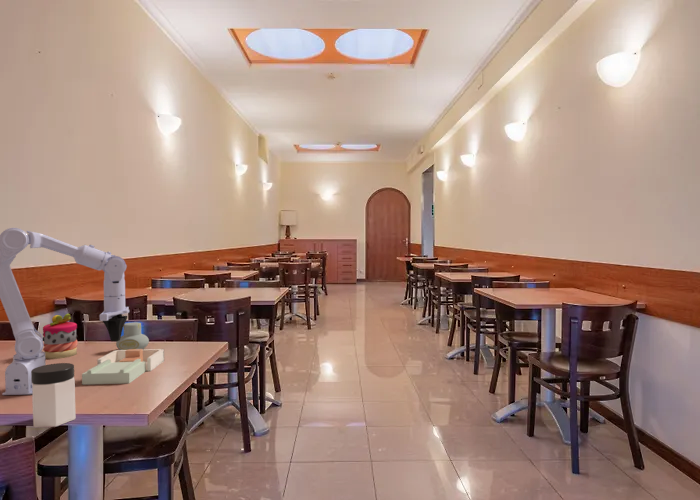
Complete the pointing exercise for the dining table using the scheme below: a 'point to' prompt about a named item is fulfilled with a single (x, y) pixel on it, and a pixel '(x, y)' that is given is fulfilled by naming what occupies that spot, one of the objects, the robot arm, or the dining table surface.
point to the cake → (60, 338)
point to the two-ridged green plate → (114, 372)
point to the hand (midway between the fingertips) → (115, 340)
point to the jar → (53, 394)
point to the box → (149, 356)
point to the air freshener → (132, 337)
